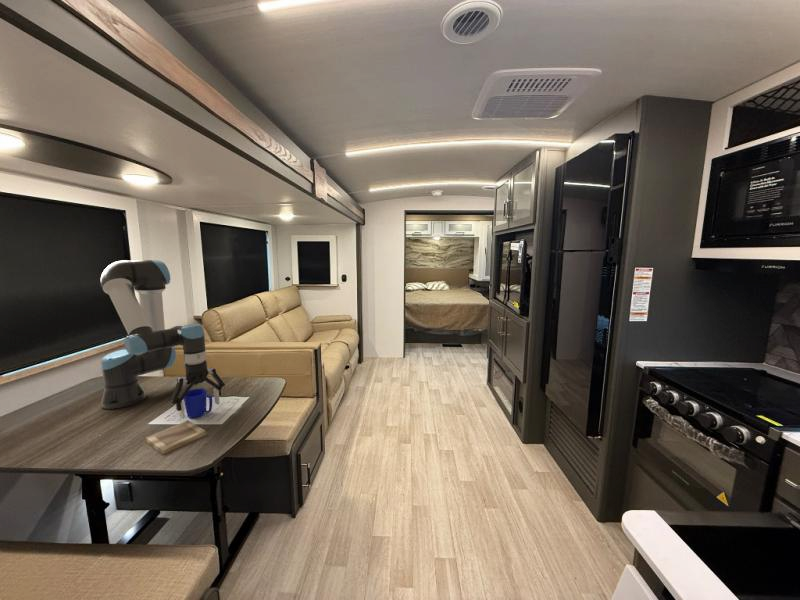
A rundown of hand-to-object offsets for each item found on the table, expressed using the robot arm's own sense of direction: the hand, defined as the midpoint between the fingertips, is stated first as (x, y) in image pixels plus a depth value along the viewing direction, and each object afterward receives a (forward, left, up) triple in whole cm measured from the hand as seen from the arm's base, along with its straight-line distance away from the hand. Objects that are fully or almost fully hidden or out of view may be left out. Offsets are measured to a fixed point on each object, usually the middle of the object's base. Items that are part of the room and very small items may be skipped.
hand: (200, 410), depth 131 cm
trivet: (+10, -13, -2) cm, 16 cm away
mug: (0, 0, -3) cm, 3 cm away
